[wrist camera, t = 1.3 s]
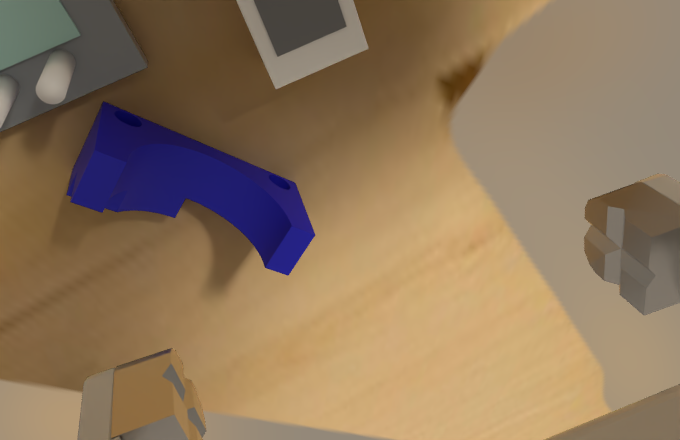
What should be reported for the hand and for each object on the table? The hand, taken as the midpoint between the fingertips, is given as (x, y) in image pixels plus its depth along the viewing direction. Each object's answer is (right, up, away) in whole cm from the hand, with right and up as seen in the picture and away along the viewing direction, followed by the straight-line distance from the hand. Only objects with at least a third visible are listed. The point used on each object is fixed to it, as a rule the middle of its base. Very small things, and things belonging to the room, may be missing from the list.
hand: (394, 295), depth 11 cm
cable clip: (-10, +4, +25) cm, 27 cm away
